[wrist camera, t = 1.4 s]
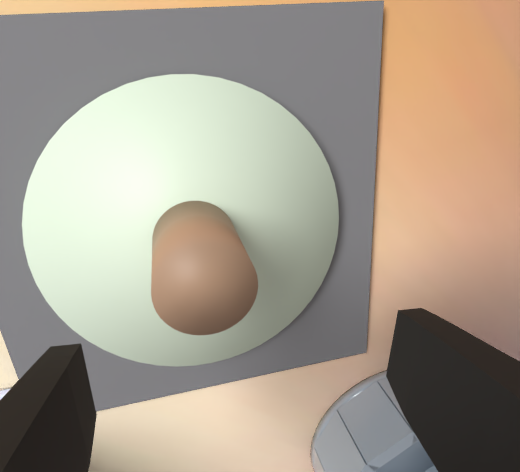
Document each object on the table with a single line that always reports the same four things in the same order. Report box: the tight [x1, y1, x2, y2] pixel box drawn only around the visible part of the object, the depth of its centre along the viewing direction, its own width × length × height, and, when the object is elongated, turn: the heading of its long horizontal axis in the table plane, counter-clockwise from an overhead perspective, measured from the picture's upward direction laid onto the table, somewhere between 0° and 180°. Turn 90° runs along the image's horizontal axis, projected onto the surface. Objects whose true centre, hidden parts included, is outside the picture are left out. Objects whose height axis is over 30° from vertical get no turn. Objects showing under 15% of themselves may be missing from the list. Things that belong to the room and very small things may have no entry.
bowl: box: [310, 371, 438, 472], centre depth 23 cm, size 10×10×4 cm
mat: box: [0, 1, 384, 411], centre depth 17 cm, size 16×16×1 cm
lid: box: [22, 74, 339, 367], centre depth 14 cm, size 12×12×5 cm
